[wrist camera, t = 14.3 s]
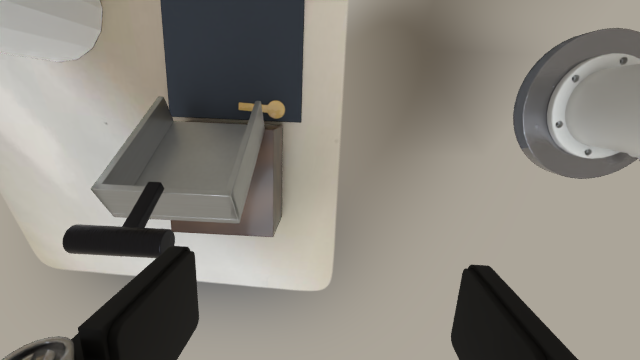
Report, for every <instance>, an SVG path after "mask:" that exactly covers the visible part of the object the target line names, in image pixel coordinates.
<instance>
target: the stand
mask: <svg viewBox="0 0 640 360" xmlns="http://www.w3.org/2000/svg"><path fill="white" fill-rule="evenodd" d="M185 122H202V121H185ZM202 123H223V122H202ZM224 124H245V123H224ZM245 125H247V124H245ZM264 127H265V131H264V134H263V138H262V142H261V145H260V149H259V153H258V156H257V160H256V164H255V167H254V171H253V175H252V179H251V182H250V186H249V190H248V193H247V197H246V201H245V204H244V208H243V212H242V215H241V219H240V223H220V222H201V221H182V220H171V229H172V231H173V232H186V233H205V234H224V235H243V236H262V237H273V236H274V234H275V231H276V229H277V226H278V224H279V222H280V219H281V217H282V138H283V125H267V124H264Z"/></svg>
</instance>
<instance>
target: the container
mask: <svg viewBox="0 0 640 360" xmlns="http://www.w3.org/2000/svg"><path fill="white" fill-rule="evenodd" d="M101 25H102V6H101V2H100V0H0V53H2V54H8V55H15V56H22V57H29V58H35V59H42V60H49V61H55V62H64V61H70V60H75V59H79V58H80V57H81V56H83V55H84V54H85V53H87V52H88V51H89V50H91V49H92V48H93V46H94V44H95V42H96V40H97V38H98V36H99V34H100V32H101Z"/></svg>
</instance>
